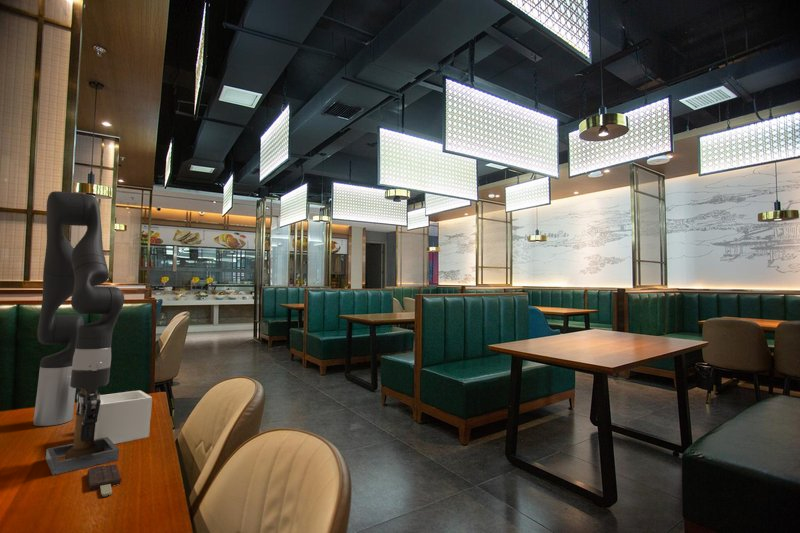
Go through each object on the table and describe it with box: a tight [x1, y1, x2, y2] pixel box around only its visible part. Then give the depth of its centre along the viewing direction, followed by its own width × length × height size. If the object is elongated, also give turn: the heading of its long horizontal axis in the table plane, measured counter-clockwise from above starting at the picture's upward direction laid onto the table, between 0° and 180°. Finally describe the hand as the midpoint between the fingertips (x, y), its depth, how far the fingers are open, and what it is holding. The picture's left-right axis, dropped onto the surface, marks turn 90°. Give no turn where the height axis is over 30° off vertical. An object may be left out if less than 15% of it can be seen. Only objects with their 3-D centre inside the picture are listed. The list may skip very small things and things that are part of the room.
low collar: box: [45, 437, 120, 476], centre depth 94 cm, size 12×12×2 cm
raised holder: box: [94, 390, 153, 445], centre depth 110 cm, size 12×12×11 cm
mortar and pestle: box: [64, 388, 101, 460], centre depth 95 cm, size 7×6×18 cm
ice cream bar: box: [86, 464, 122, 497], centre depth 83 cm, size 5×2×15 cm
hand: (84, 437), depth 94 cm, fingers closed on mortar and pestle, 4 cm apart
